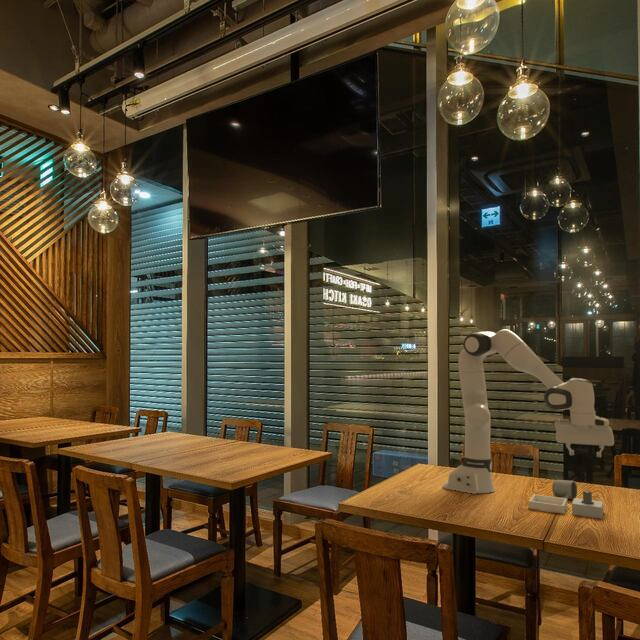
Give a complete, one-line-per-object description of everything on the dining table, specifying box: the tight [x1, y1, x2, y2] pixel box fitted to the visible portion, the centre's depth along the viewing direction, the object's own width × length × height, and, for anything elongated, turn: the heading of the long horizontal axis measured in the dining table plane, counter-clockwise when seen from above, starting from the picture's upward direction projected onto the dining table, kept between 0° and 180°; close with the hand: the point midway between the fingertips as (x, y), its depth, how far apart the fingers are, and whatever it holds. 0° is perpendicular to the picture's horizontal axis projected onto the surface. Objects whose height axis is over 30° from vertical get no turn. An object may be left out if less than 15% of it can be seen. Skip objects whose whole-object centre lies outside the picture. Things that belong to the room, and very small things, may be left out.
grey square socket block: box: [571, 497, 604, 520], centre depth 199 cm, size 10×10×4 cm
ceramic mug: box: [551, 479, 578, 501], centre depth 220 cm, size 11×8×8 cm
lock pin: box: [582, 490, 593, 504], centre depth 199 cm, size 3×3×8 cm
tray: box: [528, 493, 569, 515], centre depth 206 cm, size 13×13×3 cm
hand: (585, 456), depth 201 cm, fingers open, 8 cm apart
